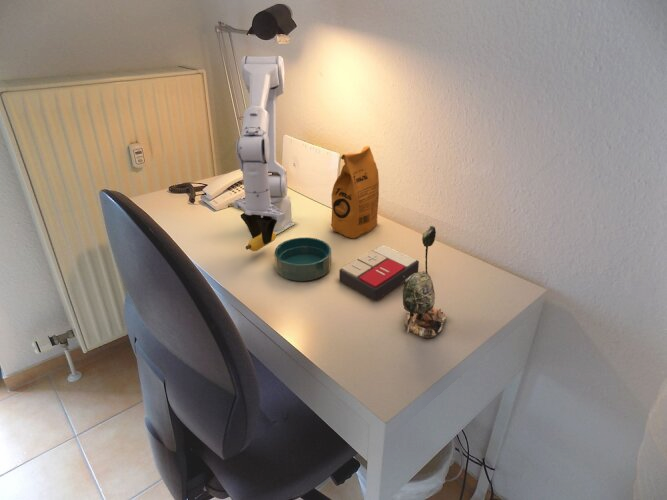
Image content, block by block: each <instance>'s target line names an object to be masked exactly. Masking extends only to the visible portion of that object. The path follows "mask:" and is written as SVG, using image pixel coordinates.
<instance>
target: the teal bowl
mask: <svg viewBox="0 0 667 500" xmlns="http://www.w3.org/2000/svg"><path fill="white" fill-rule="evenodd" d="M274 260H275V262H274V263H275V270H276V272H277V273H278V275H280V276H281V277H282V278H285V279H287V280H290V281H298V282H303V281H304V282H305V281H313V280H317V279H319V278H321V277H324V276H325V275H327V274H328V273H329V272H330V270H331V269H332V248H331V246H330V244H329V243H328V242H326V241H324V240H321V239H318V238H315V237H307V236H306V237H295V238H290V239H287V240H285V241H283V242H280V243H279V244H278V245H277V246H276V247H275V249H274Z"/></svg>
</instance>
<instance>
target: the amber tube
mask: <svg viewBox="0 0 667 500" xmlns="http://www.w3.org/2000/svg"><path fill="white" fill-rule="evenodd" d="M276 238H277V235H276V234H275V232H274V231H273V234H272V239H271V242H270V243H268V244H266V245H265V244H264V243H263V240H262V234H260V235H258V236H257V237H255V238H251V239H250V240H248V242H247V245H246V246H245V249H246V250H249V251H251V252H258V251H259V250H261V249H262V248H264V247H266V246H267V245H269V244H271V243H272V242H274V241H275V240H276Z"/></svg>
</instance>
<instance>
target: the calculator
mask: <svg viewBox="0 0 667 500" xmlns="http://www.w3.org/2000/svg"><path fill="white" fill-rule="evenodd" d="M419 265H420V261H419V260H418V259H416V258H414V257H411V256H409V255H407V254H404V253H402V252H400V251H399V250H396V249H394V248H392V247H389V246H387V245H385V244H381V245H380V246H378V247H376V248H374V249H372V250H370V251H368V252H367V253H365V254H363V255H362V256H360V257H358V258H357V259H355V260H353V261H351V262H349V263H347V264H346V265H344V266H343V267H341V268H340V269H339V270H338V271H339V272H338V273H339V282H341V283H343V284H344V285H346V286H348V287H349V288H351V289H353V290H354V291H357V292H358V293H360V294H362V295H363V296H365V297H366V298H367V297H368V298H369V299H371V300H373V302H376V301H378V300H380V299H381V298H383V297H384V296H386V295H387V294H388V293H390V292H391V291H393V290H395V289H396V288H397V287H398V286H400V285H402V284H404V282H405V279H407V278H408V277H409V276H410V275H412V274H414V273H419V268H420V267H419ZM403 276H405V277H403Z"/></svg>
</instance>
